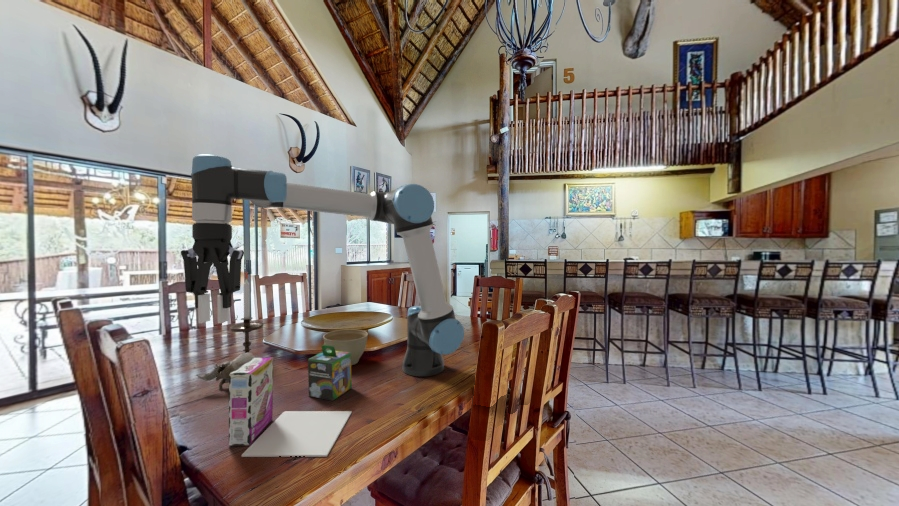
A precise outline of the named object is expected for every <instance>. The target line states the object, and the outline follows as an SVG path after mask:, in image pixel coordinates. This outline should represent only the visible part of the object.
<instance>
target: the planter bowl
mask: <svg viewBox="0 0 899 506" xmlns="http://www.w3.org/2000/svg"><path fill="white" fill-rule="evenodd" d="M368 335H369V333H368V332H367V331H365V330H363V329H352V328H349V329H348V328H347V329H346V328H345V329H337V330H332V331H329V332H327V333H325V334H323V336H322V337H323V338H322V339H323V345H329V346H334V348H335V351H344V352H351V366H353V365H356V364H358V362H359V361H360V358H361V357H362V355H363V354H364V352H365V350H366V347H367V343H368V342H367V341H368ZM327 350H330V349H328V348H327V349H326V351H327Z"/></svg>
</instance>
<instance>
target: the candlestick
mask: <svg viewBox="0 0 899 506" xmlns="http://www.w3.org/2000/svg"><path fill="white" fill-rule="evenodd" d="M244 274H245V277H244V278H245V279H244V280H245V281H244V282H243V318H240V320H241V321H243V322H242V323H241V322H240V323H236V324H232V325H231V326H229V330H228V331H230V332H232V333H244V342H243V343H242V346H243V347H244V349H243V352H244V354H245V353H247V352H249V353H250V351H252V349H251V348H250V346H251V345H252V342H251V341H250V332H252V331H257V330H260V329H262V328H264V322H260V321H251V320H253V317H251V316H250V315H251V313H250V312H251V310H250V305H251V304H250V298H251V297H250V282H249V281H248V277H249V275H248V270H246V271H245V272H244ZM255 358H260V357H259V356H255Z"/></svg>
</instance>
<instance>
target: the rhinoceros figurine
mask: <svg viewBox="0 0 899 506" xmlns="http://www.w3.org/2000/svg"><path fill="white" fill-rule="evenodd" d="M255 357H256V356H255V355H254V354H253V353H252V352H250V351H249V352H247V353H245V352H244V353H241V354H239V355H237V356H236V357H235V358H234V359H232V360H231V361H226V362H224V363H221V365H219V364H218V363H215V366H214V369H213V370H212V371H210V372H205V374H204V375H199V374H196V376H197V377H198V379H201V380H203V381H205V382H208V381H212V380H215V381H216V382H217V381H219V380H220V381H219V384H218V390H219V389H222V390H223V385H224V384H229V374H230V373H231V372H233V371H235V370H236V369H238V368H239V367H241V366H243V365H244V364H246V363H247V362H249V361H250V360H252V359H253V358H255Z"/></svg>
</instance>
